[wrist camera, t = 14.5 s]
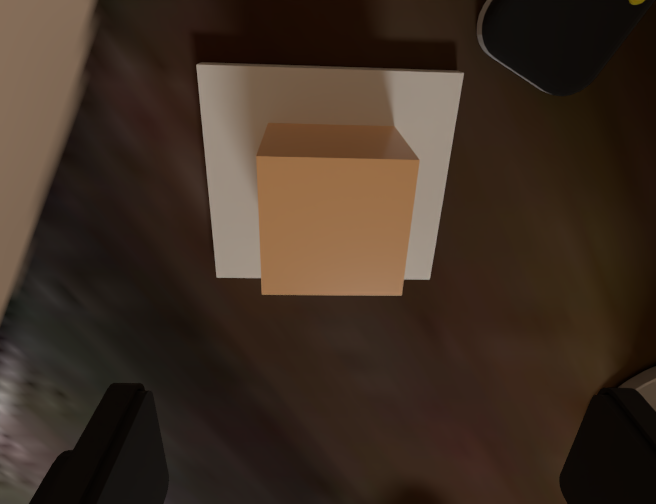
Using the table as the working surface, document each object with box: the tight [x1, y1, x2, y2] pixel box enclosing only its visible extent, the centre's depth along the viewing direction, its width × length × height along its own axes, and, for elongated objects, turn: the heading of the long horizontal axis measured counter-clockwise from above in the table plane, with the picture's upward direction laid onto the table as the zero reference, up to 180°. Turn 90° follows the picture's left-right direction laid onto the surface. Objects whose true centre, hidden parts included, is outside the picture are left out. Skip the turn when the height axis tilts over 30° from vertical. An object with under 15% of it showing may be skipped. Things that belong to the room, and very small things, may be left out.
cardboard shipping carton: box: [256, 123, 420, 296], centre depth 20 cm, size 6×6×6 cm
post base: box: [196, 62, 464, 280], centre depth 21 cm, size 12×11×5 cm
